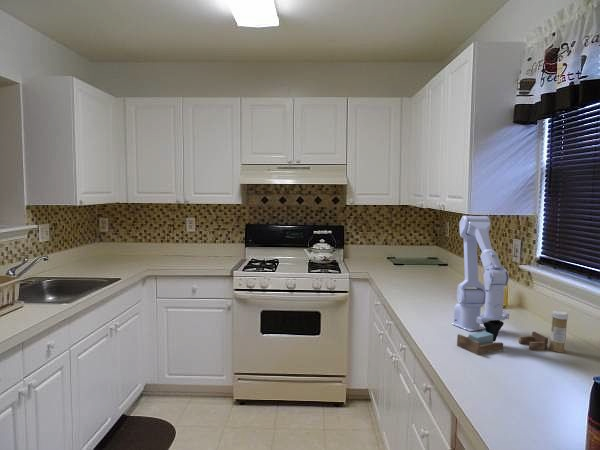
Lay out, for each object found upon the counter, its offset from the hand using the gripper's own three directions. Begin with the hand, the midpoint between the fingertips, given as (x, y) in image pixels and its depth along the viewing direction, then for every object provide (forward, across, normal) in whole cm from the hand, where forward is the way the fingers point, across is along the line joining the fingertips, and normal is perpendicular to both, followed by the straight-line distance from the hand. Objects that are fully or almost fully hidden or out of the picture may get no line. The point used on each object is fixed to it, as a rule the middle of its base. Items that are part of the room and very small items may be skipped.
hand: (491, 340), depth 146 cm
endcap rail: (+1, -7, 0) cm, 8 cm away
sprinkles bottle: (+2, +17, -13) cm, 21 cm away
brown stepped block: (+1, +12, -7) cm, 14 cm away
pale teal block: (+1, -6, 0) cm, 6 cm away
